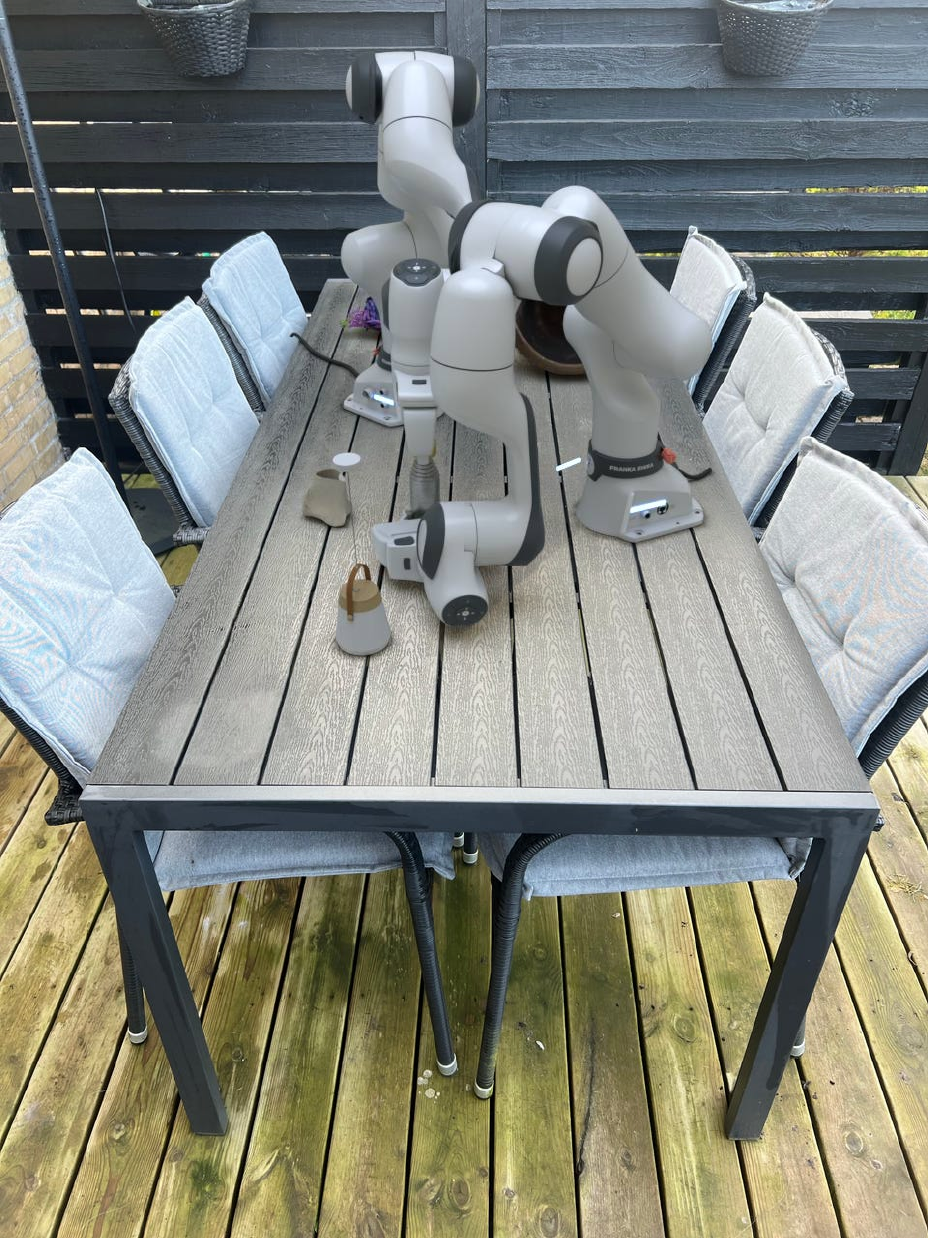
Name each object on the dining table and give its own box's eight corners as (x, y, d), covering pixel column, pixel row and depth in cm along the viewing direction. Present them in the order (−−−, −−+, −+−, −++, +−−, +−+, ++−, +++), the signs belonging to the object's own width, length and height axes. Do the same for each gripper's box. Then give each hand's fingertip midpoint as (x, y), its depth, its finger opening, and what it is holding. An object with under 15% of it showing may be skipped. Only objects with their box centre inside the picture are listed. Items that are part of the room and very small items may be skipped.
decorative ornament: (459, 312, 230) (337, 314, 227) (457, 347, 238) (340, 349, 236) (454, 280, 238) (336, 281, 235) (453, 315, 246) (339, 317, 244)
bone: (352, 523, 169) (358, 468, 167) (345, 530, 162) (351, 474, 159) (303, 516, 169) (308, 461, 167) (294, 523, 162) (299, 466, 159)
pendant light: (377, 661, 135) (361, 478, 117) (326, 649, 137) (303, 468, 119) (399, 628, 141) (388, 450, 123) (351, 617, 143) (332, 440, 125)
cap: (422, 446, 153) (422, 432, 151) (441, 453, 151) (441, 439, 149) (406, 454, 150) (405, 441, 149) (424, 462, 148) (423, 448, 147)
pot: (527, 218, 229) (547, 194, 200) (639, 277, 234) (675, 262, 205) (471, 342, 235) (483, 336, 206) (582, 397, 240) (609, 398, 211)
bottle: (446, 540, 161) (445, 441, 150) (429, 553, 158) (426, 453, 146) (423, 531, 163) (420, 433, 152) (406, 543, 160) (401, 445, 149)
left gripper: (402, 348, 150) (406, 426, 159) (397, 401, 134) (401, 486, 142) (441, 347, 150) (443, 426, 159) (440, 400, 134) (442, 485, 142)
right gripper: (505, 529, 147) (483, 487, 158) (377, 546, 143) (364, 502, 154) (504, 562, 151) (483, 519, 162) (380, 580, 147) (367, 535, 158)
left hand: (423, 455), depth 150 cm, fingers closed on cap, 4 cm apart
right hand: (424, 511), depth 158 cm, fingers closed on bottle, 5 cm apart
